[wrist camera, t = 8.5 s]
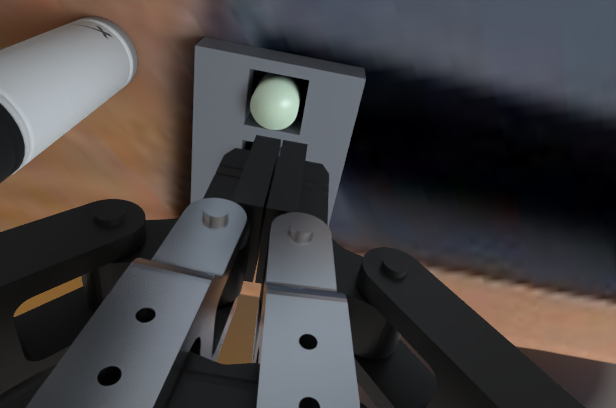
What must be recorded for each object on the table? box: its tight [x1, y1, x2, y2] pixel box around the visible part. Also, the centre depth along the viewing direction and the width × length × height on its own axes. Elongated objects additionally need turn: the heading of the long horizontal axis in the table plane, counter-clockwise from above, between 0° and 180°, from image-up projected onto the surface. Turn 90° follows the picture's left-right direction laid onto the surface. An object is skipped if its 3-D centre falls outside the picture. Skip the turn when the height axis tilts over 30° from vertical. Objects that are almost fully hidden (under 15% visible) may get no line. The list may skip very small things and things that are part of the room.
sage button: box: [250, 73, 301, 130], centre depth 37 cm, size 4×4×4 cm
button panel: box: [191, 37, 366, 226], centre depth 41 cm, size 20×14×3 cm
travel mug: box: [0, 17, 138, 183], centre depth 30 cm, size 6×7×20 cm
